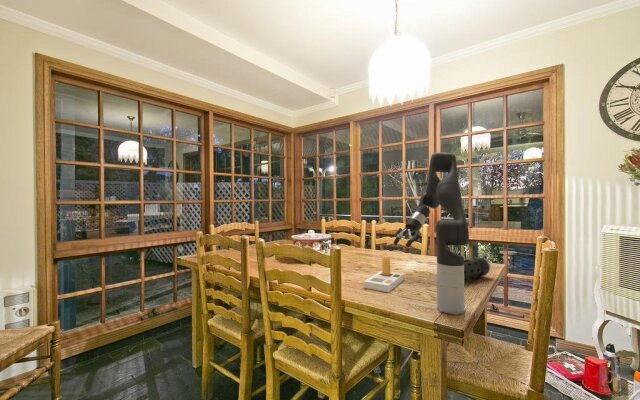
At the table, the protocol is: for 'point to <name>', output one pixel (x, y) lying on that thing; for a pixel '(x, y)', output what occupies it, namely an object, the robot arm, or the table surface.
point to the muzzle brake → (475, 267)
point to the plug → (386, 266)
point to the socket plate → (383, 281)
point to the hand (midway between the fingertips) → (400, 245)
